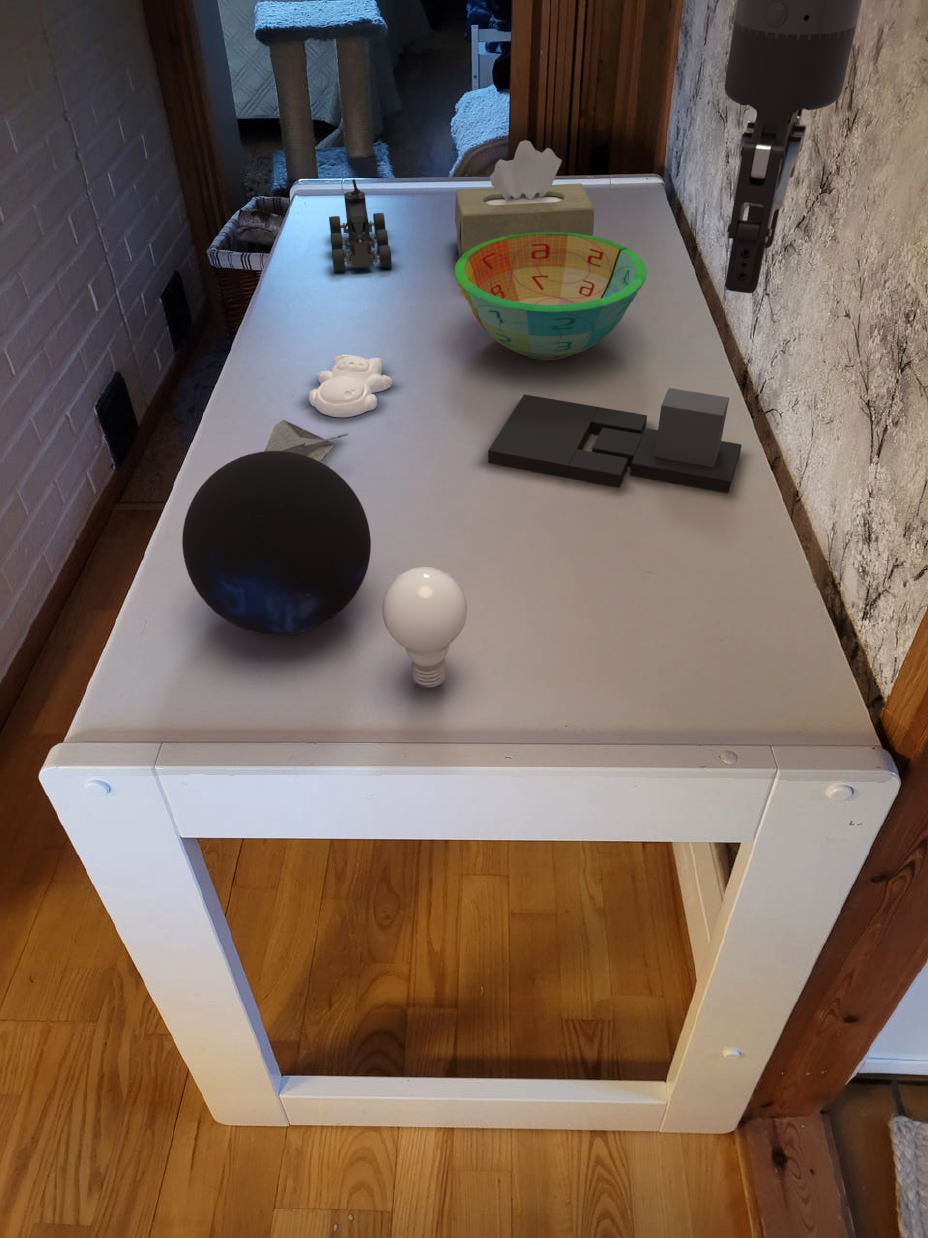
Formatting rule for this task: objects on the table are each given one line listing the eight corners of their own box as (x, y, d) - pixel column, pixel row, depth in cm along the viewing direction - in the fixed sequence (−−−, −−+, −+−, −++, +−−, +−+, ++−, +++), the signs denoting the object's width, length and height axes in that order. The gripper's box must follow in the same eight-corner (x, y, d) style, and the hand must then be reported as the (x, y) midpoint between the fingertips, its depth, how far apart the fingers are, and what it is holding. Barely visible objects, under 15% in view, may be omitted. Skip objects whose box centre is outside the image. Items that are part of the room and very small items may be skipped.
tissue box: (460, 272, 134) (457, 153, 123) (455, 245, 141) (451, 130, 130) (592, 265, 135) (601, 146, 124) (580, 238, 142) (587, 123, 131)
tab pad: (739, 456, 99) (752, 391, 94) (728, 493, 94) (742, 427, 89) (604, 432, 103) (610, 369, 98) (587, 467, 98) (592, 402, 93)
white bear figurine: (403, 371, 114) (401, 347, 112) (366, 422, 106) (363, 398, 104) (336, 361, 116) (333, 338, 114) (294, 411, 108) (290, 387, 106)
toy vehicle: (384, 231, 146) (380, 171, 140) (392, 271, 135) (387, 208, 129) (331, 235, 145) (324, 175, 139) (334, 276, 134) (327, 212, 128)
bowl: (492, 407, 107) (492, 323, 101) (433, 322, 123) (429, 245, 116) (670, 371, 112) (681, 290, 106) (591, 295, 128) (597, 219, 121)
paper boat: (271, 428, 103) (351, 403, 102) (289, 486, 104) (369, 462, 103) (234, 428, 91) (323, 400, 90) (255, 493, 92) (344, 466, 91)
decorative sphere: (381, 554, 89) (366, 412, 78) (373, 670, 78) (355, 523, 67) (219, 558, 89) (183, 417, 78) (188, 675, 78) (142, 529, 67)
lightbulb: (448, 643, 80) (444, 540, 72) (482, 693, 75) (481, 589, 68) (378, 668, 78) (366, 564, 70) (408, 721, 74) (398, 617, 66)
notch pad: (645, 426, 104) (647, 414, 103) (619, 487, 96) (620, 475, 95) (523, 405, 107) (523, 393, 106) (488, 462, 99) (487, 450, 98)
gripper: (849, 44, 54) (789, 314, 65) (865, -5, 64) (810, 237, 75) (716, 37, 56) (680, 300, 67) (752, -11, 66) (715, 226, 77)
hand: (749, 266), depth 71 cm, fingers open, 8 cm apart
